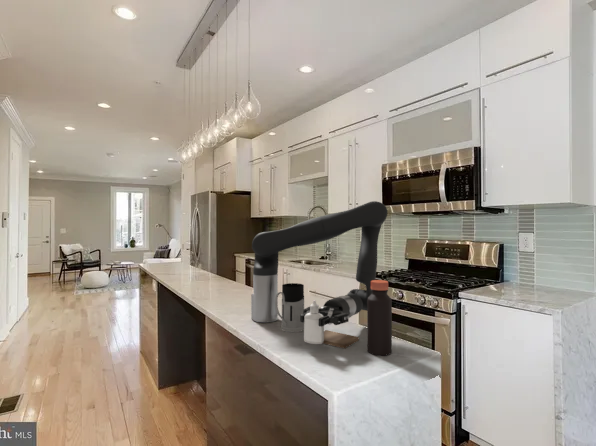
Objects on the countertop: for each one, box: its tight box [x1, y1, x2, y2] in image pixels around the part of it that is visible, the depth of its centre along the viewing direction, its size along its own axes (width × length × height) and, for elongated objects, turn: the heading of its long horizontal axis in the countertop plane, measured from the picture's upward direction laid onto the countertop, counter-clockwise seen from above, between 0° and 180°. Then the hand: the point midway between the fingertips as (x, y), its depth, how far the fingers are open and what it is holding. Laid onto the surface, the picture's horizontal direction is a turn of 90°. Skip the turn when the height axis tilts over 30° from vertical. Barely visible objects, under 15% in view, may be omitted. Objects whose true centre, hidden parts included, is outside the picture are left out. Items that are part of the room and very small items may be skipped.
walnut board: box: [322, 329, 360, 349], centre depth 107 cm, size 12×9×1 cm
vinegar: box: [366, 279, 393, 357], centre depth 97 cm, size 7×7×20 cm
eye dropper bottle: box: [303, 299, 325, 345], centre depth 98 cm, size 4×6×12 cm
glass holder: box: [275, 282, 305, 333], centre depth 117 cm, size 9×14×15 cm, turn 147°
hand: (310, 320), depth 97 cm, fingers closed on eye dropper bottle, 5 cm apart
